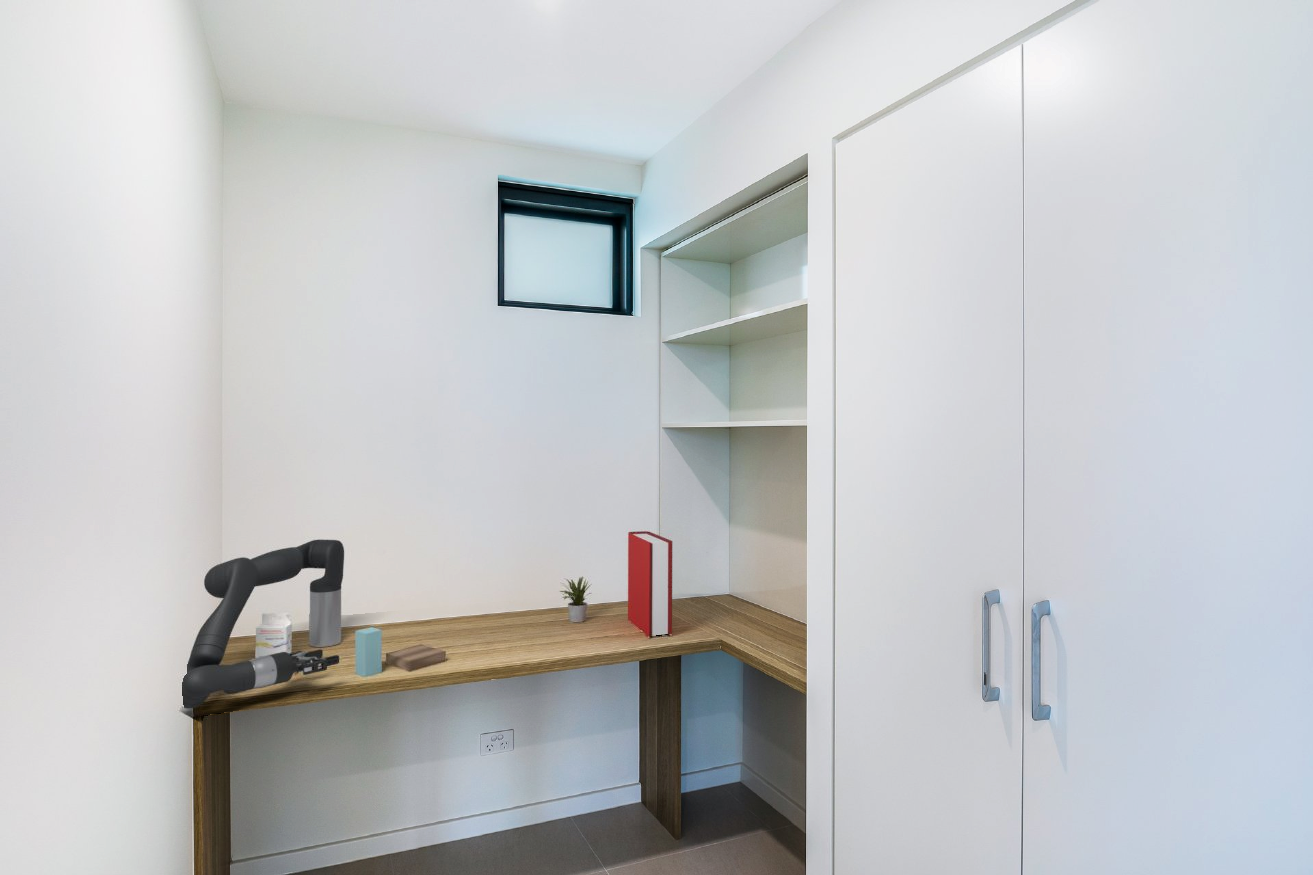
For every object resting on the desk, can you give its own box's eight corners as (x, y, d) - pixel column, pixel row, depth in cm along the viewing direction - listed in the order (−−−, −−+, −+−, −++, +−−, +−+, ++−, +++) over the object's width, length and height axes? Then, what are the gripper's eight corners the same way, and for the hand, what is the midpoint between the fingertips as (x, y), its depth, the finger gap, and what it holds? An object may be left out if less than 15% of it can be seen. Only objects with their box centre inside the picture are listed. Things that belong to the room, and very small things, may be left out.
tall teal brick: (355, 673, 206) (355, 630, 206) (371, 669, 210) (371, 627, 210) (365, 677, 203) (365, 633, 203) (381, 672, 207) (381, 629, 207)
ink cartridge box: (254, 668, 210) (254, 617, 210) (260, 663, 215) (261, 613, 215) (286, 667, 212) (286, 616, 212) (292, 662, 217) (292, 612, 217)
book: (672, 636, 246) (672, 541, 246) (649, 638, 244) (649, 541, 244) (647, 617, 272) (648, 531, 272) (626, 619, 270) (627, 531, 270)
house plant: (560, 615, 275) (561, 571, 275) (597, 615, 275) (597, 571, 275) (554, 624, 261) (554, 578, 261) (592, 625, 261) (593, 579, 261)
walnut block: (385, 663, 216) (386, 653, 216) (421, 654, 225) (421, 644, 225) (410, 671, 208) (410, 660, 208) (445, 661, 218) (445, 651, 218)
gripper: (282, 660, 181) (344, 646, 194) (255, 650, 189) (316, 637, 202) (281, 691, 181) (344, 675, 194) (254, 679, 189) (316, 665, 202)
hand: (330, 656), depth 198 cm, fingers open, 8 cm apart
